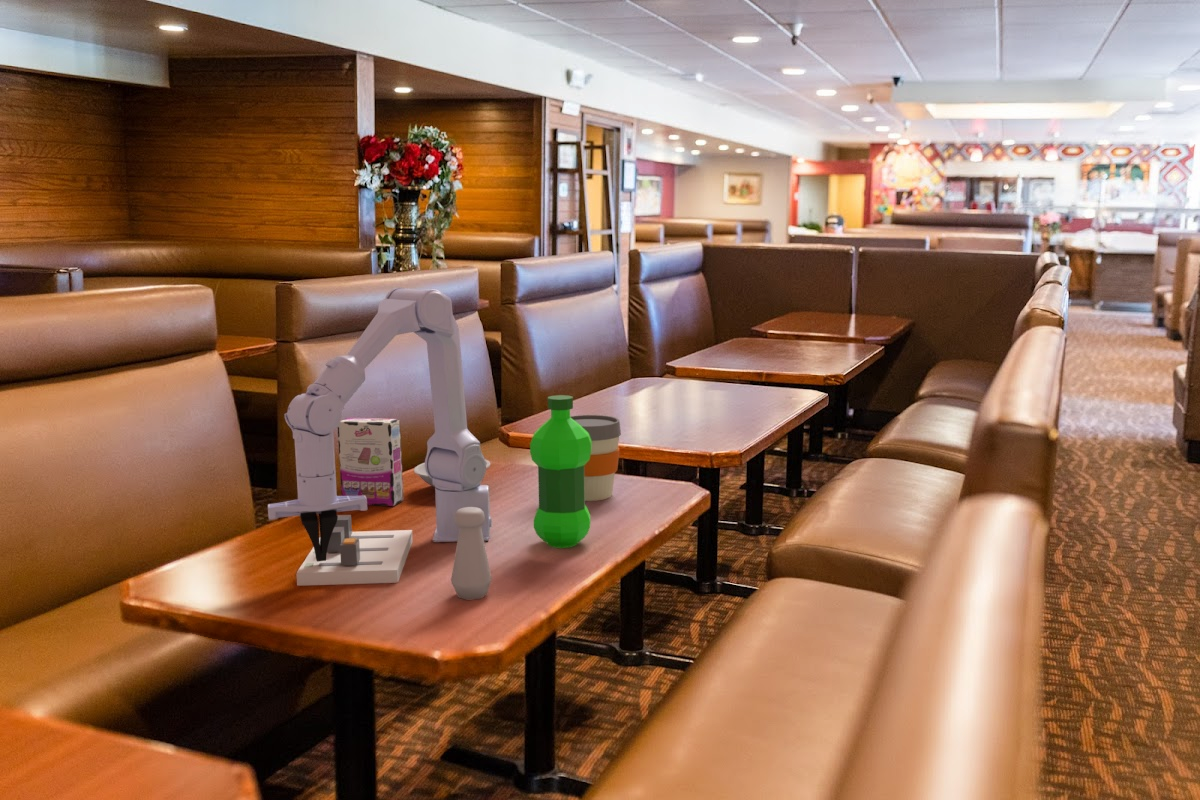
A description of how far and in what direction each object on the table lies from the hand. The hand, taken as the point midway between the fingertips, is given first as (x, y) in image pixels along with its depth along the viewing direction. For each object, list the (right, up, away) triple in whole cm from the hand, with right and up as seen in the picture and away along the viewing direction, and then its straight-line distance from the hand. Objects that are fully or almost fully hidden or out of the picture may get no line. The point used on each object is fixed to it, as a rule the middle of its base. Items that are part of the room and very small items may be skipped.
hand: (320, 559), depth 165 cm
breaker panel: (+4, -2, +8) cm, 9 cm away
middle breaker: (+1, +1, +7) cm, 7 cm away
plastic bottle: (+36, 0, +17) cm, 40 cm away
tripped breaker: (+4, -1, 0) cm, 5 cm away
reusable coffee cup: (+41, +5, +48) cm, 63 cm away
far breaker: (0, +2, +14) cm, 14 cm away
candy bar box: (-1, +4, +44) cm, 44 cm away
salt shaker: (+24, -4, -8) cm, 26 cm away
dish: (+13, +6, +53) cm, 55 cm away
